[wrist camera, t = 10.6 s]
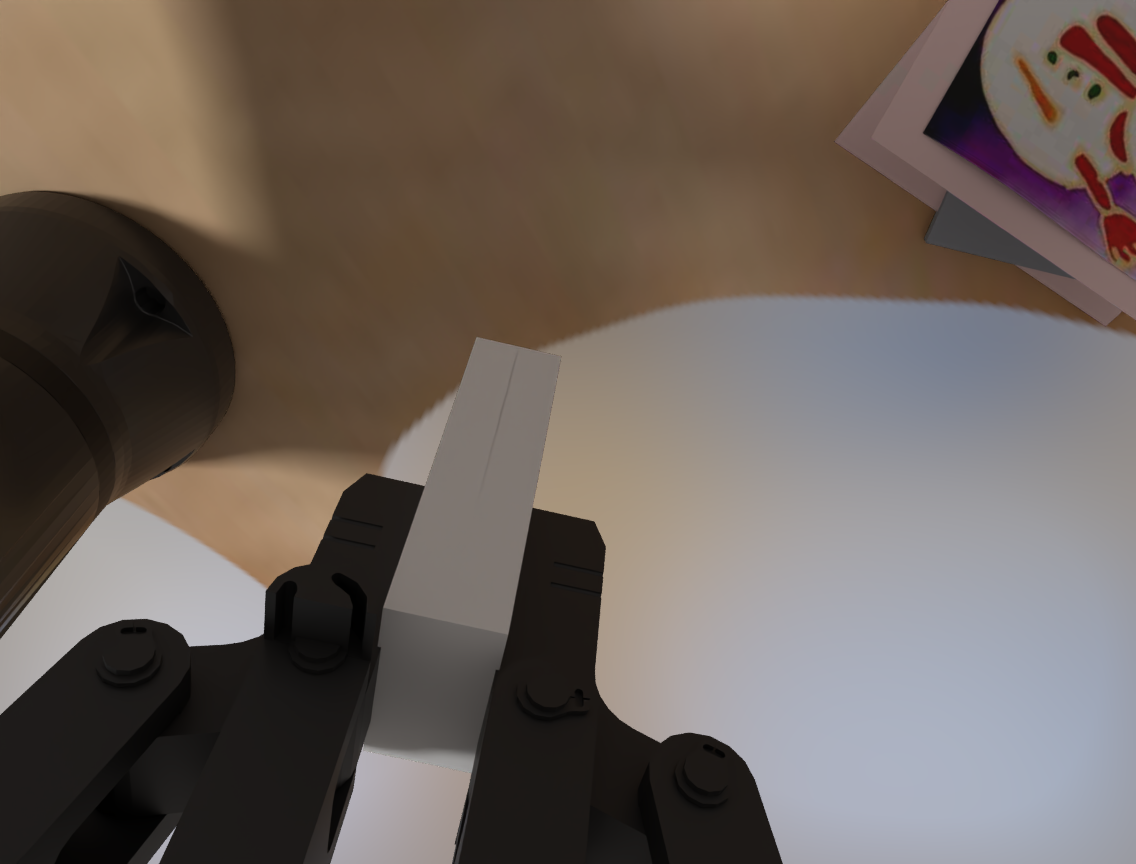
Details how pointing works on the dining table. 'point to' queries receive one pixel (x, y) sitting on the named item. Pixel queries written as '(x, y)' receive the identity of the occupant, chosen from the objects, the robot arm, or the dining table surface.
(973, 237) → the mat
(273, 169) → the dining table surface
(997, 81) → the greeting card
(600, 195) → the dining table surface
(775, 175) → the dining table surface
